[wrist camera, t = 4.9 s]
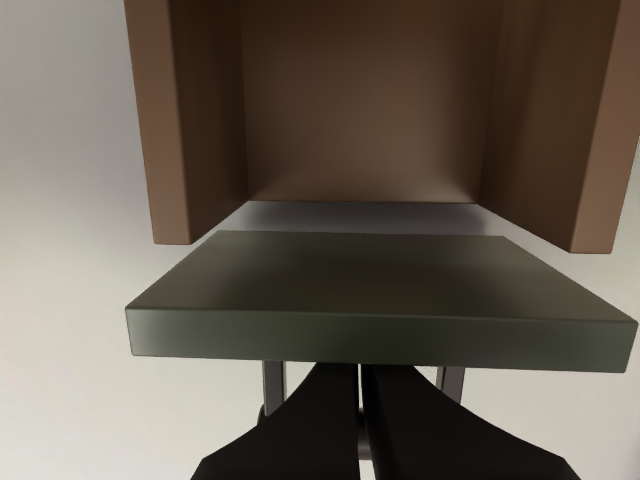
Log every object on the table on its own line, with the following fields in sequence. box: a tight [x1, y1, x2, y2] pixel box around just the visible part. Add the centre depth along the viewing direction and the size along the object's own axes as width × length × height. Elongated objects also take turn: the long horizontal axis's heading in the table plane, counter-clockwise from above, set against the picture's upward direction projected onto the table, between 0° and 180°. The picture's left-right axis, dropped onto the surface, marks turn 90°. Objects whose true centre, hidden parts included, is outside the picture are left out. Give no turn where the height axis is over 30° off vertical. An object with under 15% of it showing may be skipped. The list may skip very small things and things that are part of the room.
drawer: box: [124, 0, 640, 460], centre depth 10 cm, size 17×10×6 cm, turn 0°
